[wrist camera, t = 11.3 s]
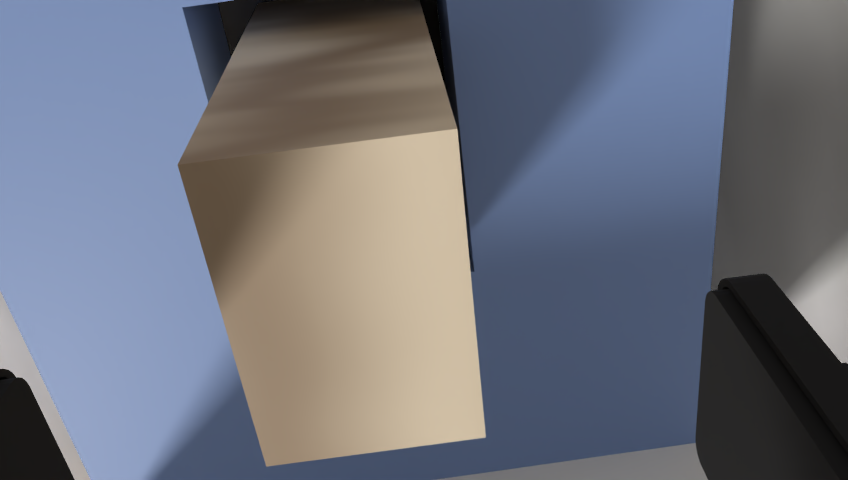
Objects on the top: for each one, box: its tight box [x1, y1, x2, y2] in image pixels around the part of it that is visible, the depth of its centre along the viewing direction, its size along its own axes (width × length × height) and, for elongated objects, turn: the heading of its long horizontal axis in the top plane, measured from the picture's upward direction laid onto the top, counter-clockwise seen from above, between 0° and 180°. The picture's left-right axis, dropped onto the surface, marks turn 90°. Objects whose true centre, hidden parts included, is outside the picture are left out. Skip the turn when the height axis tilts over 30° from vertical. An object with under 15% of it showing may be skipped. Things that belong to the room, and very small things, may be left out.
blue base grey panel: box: [0, 0, 734, 480], centre depth 16 cm, size 18×20×16 cm
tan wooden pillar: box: [178, 0, 486, 467], centre depth 17 cm, size 4×6×10 cm, turn 6°
